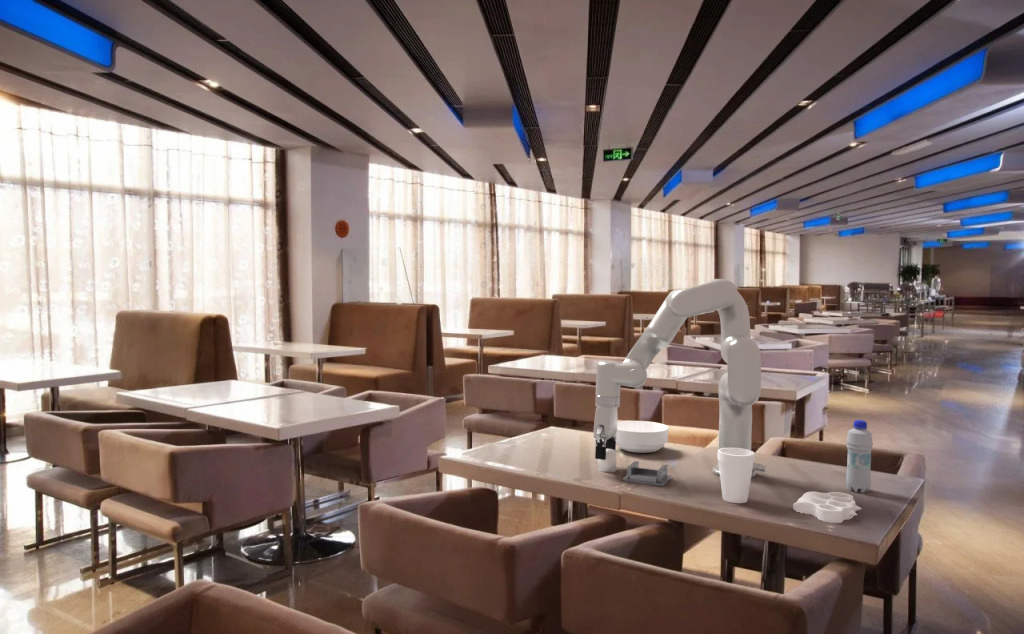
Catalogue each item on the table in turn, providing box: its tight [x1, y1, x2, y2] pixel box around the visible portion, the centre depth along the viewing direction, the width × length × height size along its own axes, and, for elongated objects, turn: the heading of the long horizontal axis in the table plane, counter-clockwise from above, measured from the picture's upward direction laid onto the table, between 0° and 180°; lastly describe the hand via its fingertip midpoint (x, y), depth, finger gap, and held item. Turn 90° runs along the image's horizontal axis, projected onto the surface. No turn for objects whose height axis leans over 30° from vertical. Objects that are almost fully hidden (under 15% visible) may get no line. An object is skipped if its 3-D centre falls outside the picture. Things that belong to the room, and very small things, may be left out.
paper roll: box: [597, 449, 617, 473], centre depth 217 cm, size 6×6×6 cm
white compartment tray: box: [792, 491, 863, 524], centre depth 179 cm, size 3×18×15 cm
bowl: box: [615, 420, 670, 454], centre depth 243 cm, size 20×20×8 cm
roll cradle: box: [622, 460, 672, 487], centre depth 207 cm, size 12×10×4 cm
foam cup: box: [716, 448, 756, 504], centre depth 188 cm, size 10×9×13 cm
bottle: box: [845, 419, 874, 493], centre depth 197 cm, size 7×7×20 cm
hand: (605, 455), depth 217 cm, fingers open, 9 cm apart
